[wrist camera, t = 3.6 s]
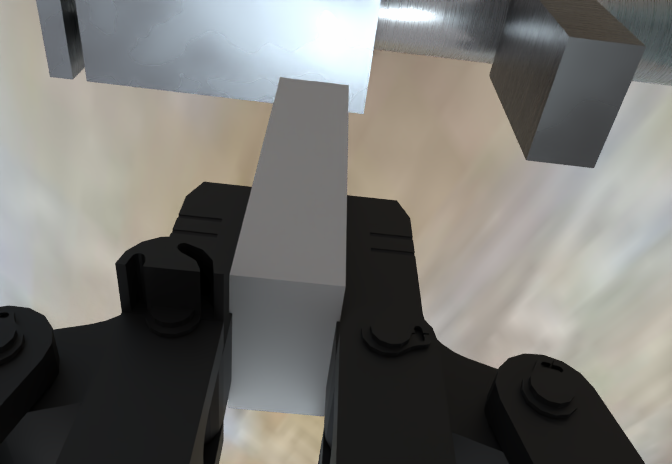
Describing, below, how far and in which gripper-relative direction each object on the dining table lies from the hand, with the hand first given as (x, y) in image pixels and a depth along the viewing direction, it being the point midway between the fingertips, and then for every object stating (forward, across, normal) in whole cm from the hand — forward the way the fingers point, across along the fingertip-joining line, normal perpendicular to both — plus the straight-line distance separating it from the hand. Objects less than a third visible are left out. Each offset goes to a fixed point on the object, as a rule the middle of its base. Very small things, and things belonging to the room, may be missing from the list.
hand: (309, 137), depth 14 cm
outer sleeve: (+13, -3, 0) cm, 14 cm away
